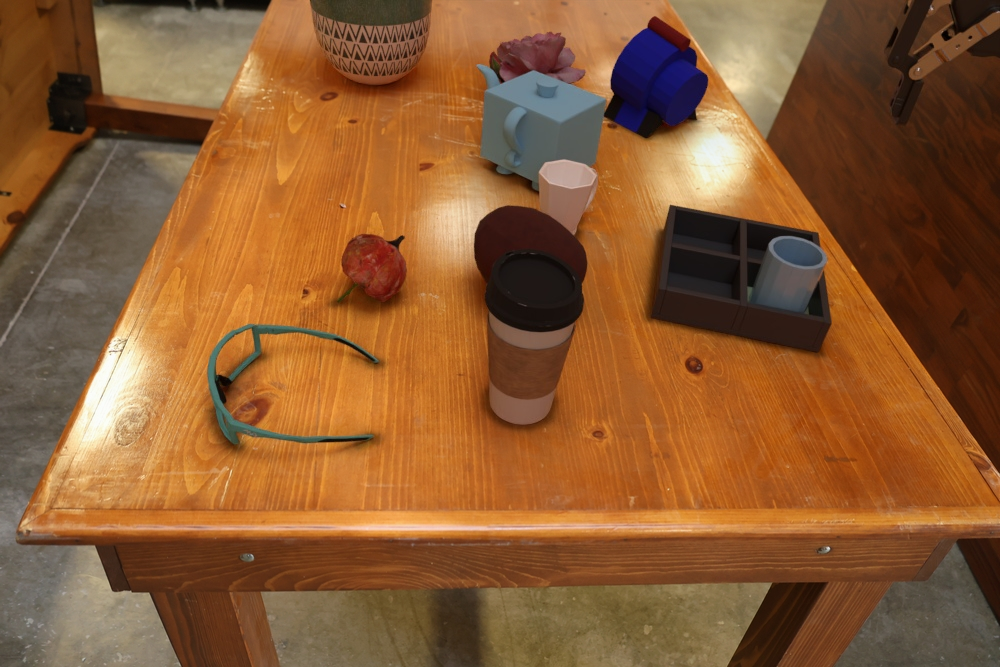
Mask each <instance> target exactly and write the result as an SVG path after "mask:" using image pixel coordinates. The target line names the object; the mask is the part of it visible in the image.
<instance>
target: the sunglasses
mask: <svg viewBox="0 0 1000 667" xmlns="http://www.w3.org/2000/svg"><path fill="white" fill-rule="evenodd" d="M250 329H251V333H252V338H253V347H254V351H253V352H252V353H251V354H250V355H249V356H248V357H247V358H246V359H245V360H243V362H241V364H239V365H238V366H237V367H236V369H234V371H232V372H231V373H230V375H229V376H228V377H227V376H225V375H223V374H217V360H218V356H219V354H220V352H221V350H222V349H223V348H224V346H225V345H226V344H227V343H228V342H229V341H230V340H232V339H233V338H234V337H236V336H237V335H238V336H239V335H240V334H241V333H243V332H246V331H248V330H250ZM285 334H304V335H308V336H313V337H317V338H319V339H323V340H328V341H329V340H331V341H335V342H337V343H339V344H342V345H345V346H348V347H349V348H351V349H352V350H354V351H356V352H358V353H359V354H361V355H363V356H364V357H365V358H367V359H368V360H369V361H371V362H372V363H374V364H377V363H379V362H380V360H379V359H378V358H376V357H375V356H374V355H373V354H371V353H370V352H368V351H367V350H365V348H363V347H362V346H360V345H359V344H357V343H354V342H353V341H351V340H349V339H347V338H346V337H343V336H340V335H338V334H336V333H333V332H332V333H330V332H326V331H323V330H322V331H321V330H316V329H311V328H304V327H299V326H292V325H280V324H279V325H278V324H255V323H247V324H246V325H243V326H241V327H239V328H236V329H232V330H231V331H229V332H228V333H226V334H225V335H224V336H223V337H222V338H221V339H220V340H219V341H218V342H217V344H215V346H214V347H213V349H212V351H211V354H210V356H209V359H208V362H207V372H206V373H207V375H206V376H207V383H208V390H209V393H210V397H211V400H212V403H213V406H214V408H215V413H216V419H217V423H218V426H219V428H220V430H221V431H222V433H223V435H224V437H225V438H226V440H228V441H229V442H230V443H231V444H232V445H239V444H240V441H239V438H238V433H240V434H243V435H246V436H249V437H251V438H260V439H261V438H264V439H274V440H280V441H286V442H295V443H300V444H324V443H325V444H326V443H350V442H364V441H369V440H371V439H373V438H374V436H375V435H374V434H359V435H337V436H336V435H335V436H334V435H314V436H313V435H312V436H300V435H293V434H292V435H291V434H285V433H284V434H283V433H280V432H274V431H270V430H267V429H264V428H263V429H262V428H259V427H257V426H254V425H252V424H251V425H250V424H248V423H246V422H243V421H239V420H237V419H235V418H234V417H233V416H232V414H231V412H229V410H228V409H227V408H226V407H225V404H226V403H227V397H226V393H225V392H224V389H223V388H222V387H229V386H230V385H231V384H232V382H233V381H234V380H235V379H236V378H237V376H239V374H241V372H243V370H244V369H245V368H246V367H247V366H248V365H250V364H251V363H252V362H253V361H254V360H255V359H256V358H258V357H259V356H260V355H261V354H262V344H261V335H275V336H277V335H285ZM224 419H225V420H224Z"/></svg>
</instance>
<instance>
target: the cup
mask: <svg viewBox="0 0 1000 667" xmlns="http://www.w3.org/2000/svg"><path fill="white" fill-rule="evenodd" d="M598 178H599V173H598V172H597V170H596V169H594V168H593V167H591V166H590V167H588V166H587V165H586V164H582V163H578V162H574V161H570V160H565V159H563V160H557V161H551V162H545V163H544V165H543V166H542V168H541V169H540V171H539V191H538V193H539V211H540V212H543V213H545V214H547V215H549V216H551V217H552V218H554V219H555V220H556V221H558V222H559V223H561V224H562V225H563V226H564V227H565V228H566V229H567V230H569V231H570V232H571V233H572V234H573V235H574V236H575V235H576V233H577V230H578V228H577V227H578V225H579V223H580V221H581V220H582V217H583V215H584V214H585V212H586V211H587V209H588V208H589V206H590V205H591V203H592V201H593V200H594V198H595V195H596V192H597V190H598V184H599V179H598Z"/></svg>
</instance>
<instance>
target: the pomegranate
mask: <svg viewBox="0 0 1000 667" xmlns="http://www.w3.org/2000/svg"><path fill="white" fill-rule="evenodd" d="M405 239H406V236H405V235H403V234H402V235H401V234H400V235H399V236H398V237H397V238H396V239H393V240H386V239H385V238H383V236H380V235H378V234H372V233H360V234H359V235H356V236H354V237H352V238H351V239H350V240H349V241H348V242H347V245H346V247H345V249H344V250H343V253H342V255H341V259H340V260H341V261H340V262H341V264H340V265H341V268H342V272H343V274H344V275H345V276H346V277H348V278H349V279H350V280H351V281H353V282H354V283H353V284H352V285H351V287H349V289H348V290H347V291H345V292H344V293H343V294H342V295H341V296H340V297H339V298H338V299H337V300H336V302H337V303H340V302H341V301H342V300H344V299H345V298H346V297H347V296H349V295H351V293H352V291H353V290H354V289H355V288H356V287H358V286H360V288H362V289H363V290H364V293H365V294H366V295H368V296H369V297H372V298H374V299H375V300H376V301H377V302H379V303H384V302H386V301H389V300H390V299H391V298H392V297H394V296H395V295H397V294H398V292H399V291H400V290H401V288H402V287H403V285H404V284H405V281H406V279H407V273H408V267H407V261H406V259H405V257H404V255H403V254H402V252H400V245H401V243H402V242H403V241H404V240H405Z"/></svg>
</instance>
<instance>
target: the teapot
mask: <svg viewBox="0 0 1000 667" xmlns="http://www.w3.org/2000/svg"><path fill="white" fill-rule="evenodd" d="M476 68H477V69H478V71H479V72H480V73H481V74H482V76H483V77H484V80H485V84H486V89H485V90H484V92H483V94H484V95H483V106H482V107H483V109H482V121H481V122H482V124H481V136H480V155H479V157H481V158H483V159H485V160H488V161H489V162H491V163H494V164H495V165H497V166H496V168H495V171H496V172H497V173H499V174H502V175H511V174H517V175H518V176H521V177H523V178H526V179H527V180H530V181H532V182H531V188H532V189H533V190H534V191H537V192H539V171H540V169H541V168H542V166H543V165H544V163H545V162H551V161H557V160H563V159H565V160H570V161H574V162H578V163H582V164H586V165H587V166H588V167H590V168H591V167H592V166H594V165H595V164H597V156H598V150H599V147H600V146H599V144H600V142H601V141H600V140H601V136H602V135H601V134H602V129H603V123H604V117H605V116H604V113H605V111H606V106H607V98H606V97H603V96H601V95H599V94H596V93H593V92H591V91H588V90H586V89H583V88H581V87H577V85H575V84H573V83H570V84H568V83H565V82H563V81H560V80H558V79H555V78H552V77H550V76H547V75H545V74H542V73H539V72H537V71H534V70H533V71H531V72H528V73H526V74H524V75H521V76H519V77H516V78H514V79H512V80H509V81H507V82H504V83H502V82H501V81H500V80H499V79H498V77H497V75H496V74H495V72H494V71H493V70H492V69H491V68H490V66H487V65H486V64H485V65H484V64H479V63H478V64H476Z"/></svg>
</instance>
